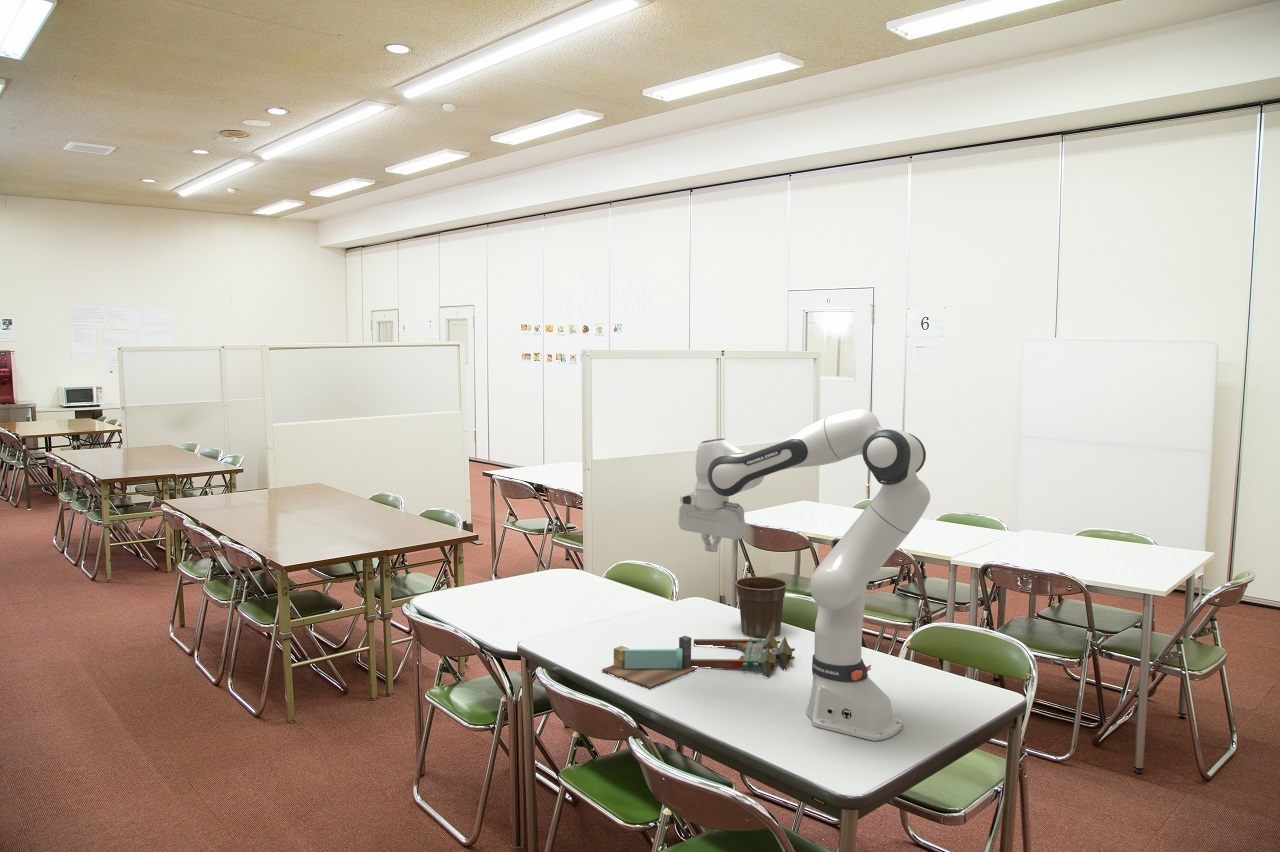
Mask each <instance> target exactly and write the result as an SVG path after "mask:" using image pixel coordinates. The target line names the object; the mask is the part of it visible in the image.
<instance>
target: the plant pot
mask: <svg viewBox="0 0 1280 852" xmlns="http://www.w3.org/2000/svg"><path fill="white" fill-rule="evenodd" d="M735 586H736V591H737V596H738V600H739V601H738V602H739V614H740V625H741V627H740V628H741V633H742V632H743V634H744V635H745V634H747V635H749V636H748V637H751V636H753V637H752V638H758V637H761V639H766V637H767V635H768V633H769V632H770V630H772V633H773V636H775V637H777V636H779V635H780V634H781V631H782V630H781V629H782V617H783V607H784V598H785V595H786V587H787V586H788V583H787V582H786V581H785V580H784V579H780V578H776V577H771V576H770V577H769V576H747V577H746V576H745V577H742V578H739V579H736V580H735ZM747 635H746V636H747Z"/></svg>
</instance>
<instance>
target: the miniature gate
mask: <svg viewBox="0 0 1280 852" xmlns="http://www.w3.org/2000/svg"><path fill="white" fill-rule="evenodd" d="M694 644H696V645H713V646H725V647H736V648H735V649H742V652H744V655H741V656H740V657H739V658H738V659H729V658H728V659H725V658H723V659H719V658H712V659H711V658H708V659H707V658H699V659H698V658H694V659H693V658H691V666H698V667H711V668H723V670H725V669H726V670H729V669H730V670H743V671H748V670H750V669H751V670H755V671H759V669H761V671H762V673H763V675H764V676H766V677H769V678H770V677H771V673H772V672H773V669H774V668H777V669H778V667H779V665H780V666H781V669H782V670H783V671H784V669H785V671H786V670H787V667H788V664H789V662H790V661H791V660H795V656H793V652H795V651H796V648H795V647H793V648H792V647H791V646H790V644H789V643H788V640H787V637H786V636H784V637H783V639H782V640H777V639H776V638H775V637H774V636H773V633H772V630H770V632H769V633H768V635H767V637H766V638H758V639H757V638H740V639H739V638H738V639H737V638H732V639H731V638H730V639H729V638H724V639H723V638H717V639H716V638H707V639H706V638H701V639H700V638H694V639H693V645H694ZM776 661H778V662H779V665H778V664H776ZM766 677H765V678H766Z"/></svg>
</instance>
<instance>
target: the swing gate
mask: <svg viewBox="0 0 1280 852" xmlns="http://www.w3.org/2000/svg"><path fill="white" fill-rule="evenodd" d="M682 650H683V649H682V648H679V647H676V648H629V649H625V668H676V669H682Z"/></svg>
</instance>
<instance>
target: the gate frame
mask: <svg viewBox="0 0 1280 852" xmlns="http://www.w3.org/2000/svg"><path fill="white" fill-rule="evenodd" d="M678 648H682V649H683V650H682V669H676V668H625V649H630V648H629V647H626V646H623V645H619V646H617V647H615V648H613V665H610V666H607V667H604V668H602V669H601V672H602V671H603V672H606V673H609V674H612V675H614V676H617V677H619V678H618V679H620V678H622V679H624V680H623V681H625V680H627V681H626V682H628V681H630V682H632V683H631V684H633V683H634V684H633V685H636V684H637V685H636V686H639V685H640V686H639V687H641V686H642V687H641V688H644V687H645V688H644V689H647V688H648V689H647V690H649V689H651V690H653V689H655V688H654V687H656V686H658V687H660V686H662V685H661V684H663V685H664V683H665V684H667V683H666V682H668V683H669V681H670V682H672V681H671V680H673V679H675V680H677V679H676V678H678V677H680V676H683V675H685V676H687V675H689V674H688V673H690V672H692V673H694V672H693V671H695V670H697V669H698V668H695V667H692V666H691V659H692V637H690V636H687V635H683V636H680V637H678ZM603 672H602V673H603ZM695 672H696V671H695ZM606 673H605V674H606ZM609 674H608V675H609ZM686 674H687V675H686ZM690 674H691V673H690ZM612 675H611V676H612ZM614 676H613V677H614ZM617 677H616V678H617ZM683 677H684V676H683ZM680 678H681V677H680ZM622 679H621V680H622ZM678 679H679V678H678ZM673 681H674V680H673ZM630 682H629V683H630ZM659 685H660V686H659ZM652 688H653V689H652ZM656 688H657V687H656Z"/></svg>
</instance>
